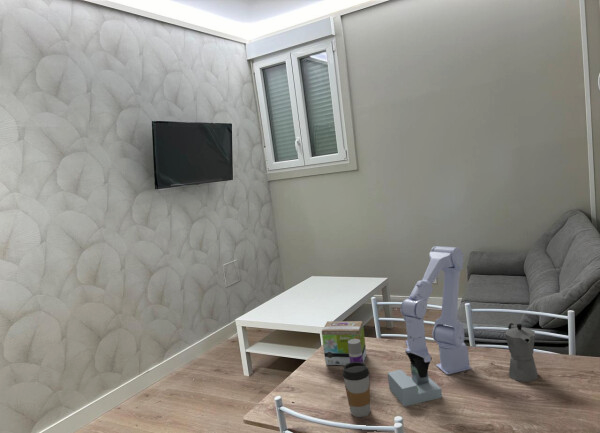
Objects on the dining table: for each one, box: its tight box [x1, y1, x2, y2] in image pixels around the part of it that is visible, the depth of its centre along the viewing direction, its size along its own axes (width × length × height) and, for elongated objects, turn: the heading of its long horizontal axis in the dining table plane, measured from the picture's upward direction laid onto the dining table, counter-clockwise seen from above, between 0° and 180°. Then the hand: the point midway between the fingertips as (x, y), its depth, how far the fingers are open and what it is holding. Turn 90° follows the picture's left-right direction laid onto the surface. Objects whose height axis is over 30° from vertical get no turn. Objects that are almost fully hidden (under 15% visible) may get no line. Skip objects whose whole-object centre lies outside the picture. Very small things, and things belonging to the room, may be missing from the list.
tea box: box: [321, 320, 367, 366], centre depth 182 cm, size 15×10×15 cm
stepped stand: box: [387, 369, 443, 407], centre depth 151 cm, size 13×12×6 cm
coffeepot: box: [505, 322, 539, 383], centre depth 154 cm, size 15×9×18 cm, turn 176°
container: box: [348, 339, 363, 363], centre depth 164 cm, size 5×5×15 cm
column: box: [410, 362, 429, 385], centre depth 152 cm, size 4×4×6 cm
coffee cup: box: [342, 362, 372, 418], centre depth 144 cm, size 8×8×15 cm
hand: (420, 373), depth 153 cm, fingers closed on column, 4 cm apart
